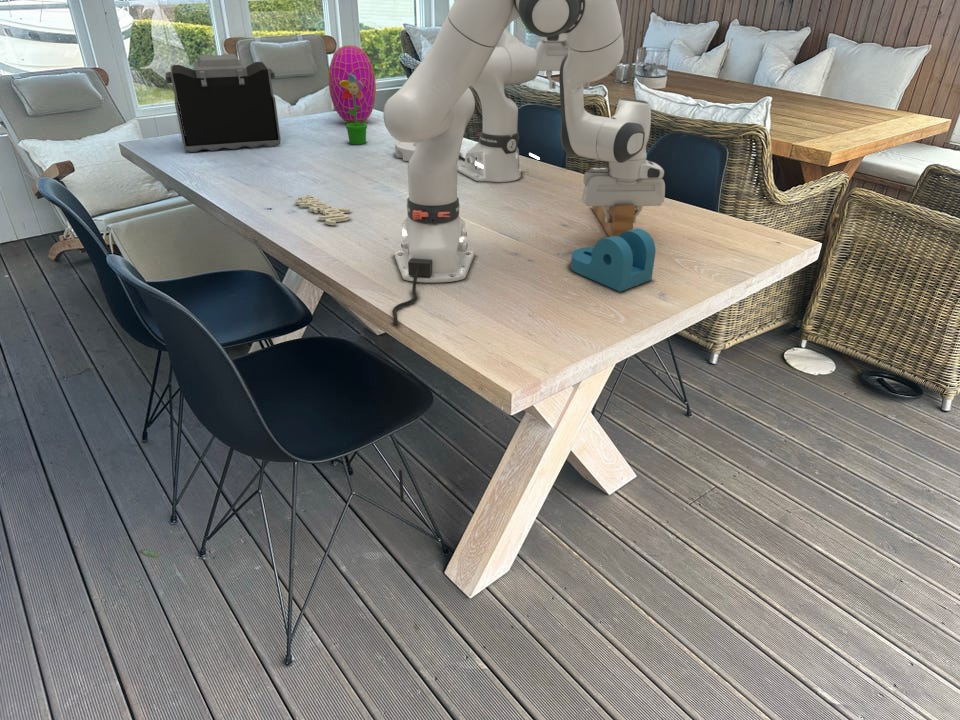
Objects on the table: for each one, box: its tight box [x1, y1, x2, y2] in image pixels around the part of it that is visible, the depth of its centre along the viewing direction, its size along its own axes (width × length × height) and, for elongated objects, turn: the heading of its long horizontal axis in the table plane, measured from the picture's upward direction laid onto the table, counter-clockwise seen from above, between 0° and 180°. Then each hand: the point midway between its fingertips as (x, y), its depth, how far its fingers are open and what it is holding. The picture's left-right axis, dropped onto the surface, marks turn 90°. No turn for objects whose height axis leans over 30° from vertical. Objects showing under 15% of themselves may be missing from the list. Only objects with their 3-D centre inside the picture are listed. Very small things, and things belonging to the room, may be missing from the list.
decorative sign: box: [295, 194, 351, 226], centre depth 192 cm, size 26×1×10 cm
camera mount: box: [570, 227, 656, 293], centre depth 154 cm, size 18×10×10 cm, turn 39°
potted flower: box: [339, 73, 368, 145], centre depth 255 cm, size 9×8×25 cm
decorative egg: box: [328, 44, 377, 124], centre depth 286 cm, size 19×19×30 cm
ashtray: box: [394, 140, 461, 162], centre depth 246 cm, size 23×23×4 cm
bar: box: [591, 204, 635, 237], centre depth 183 cm, size 27×5×9 cm, turn 3°
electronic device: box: [164, 53, 282, 153], centre depth 252 cm, size 37×22×30 cm, turn 111°
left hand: (620, 222), depth 175 cm, fingers closed on bar, 5 cm apart
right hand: (569, 88), depth 189 cm, fingers open, 8 cm apart
